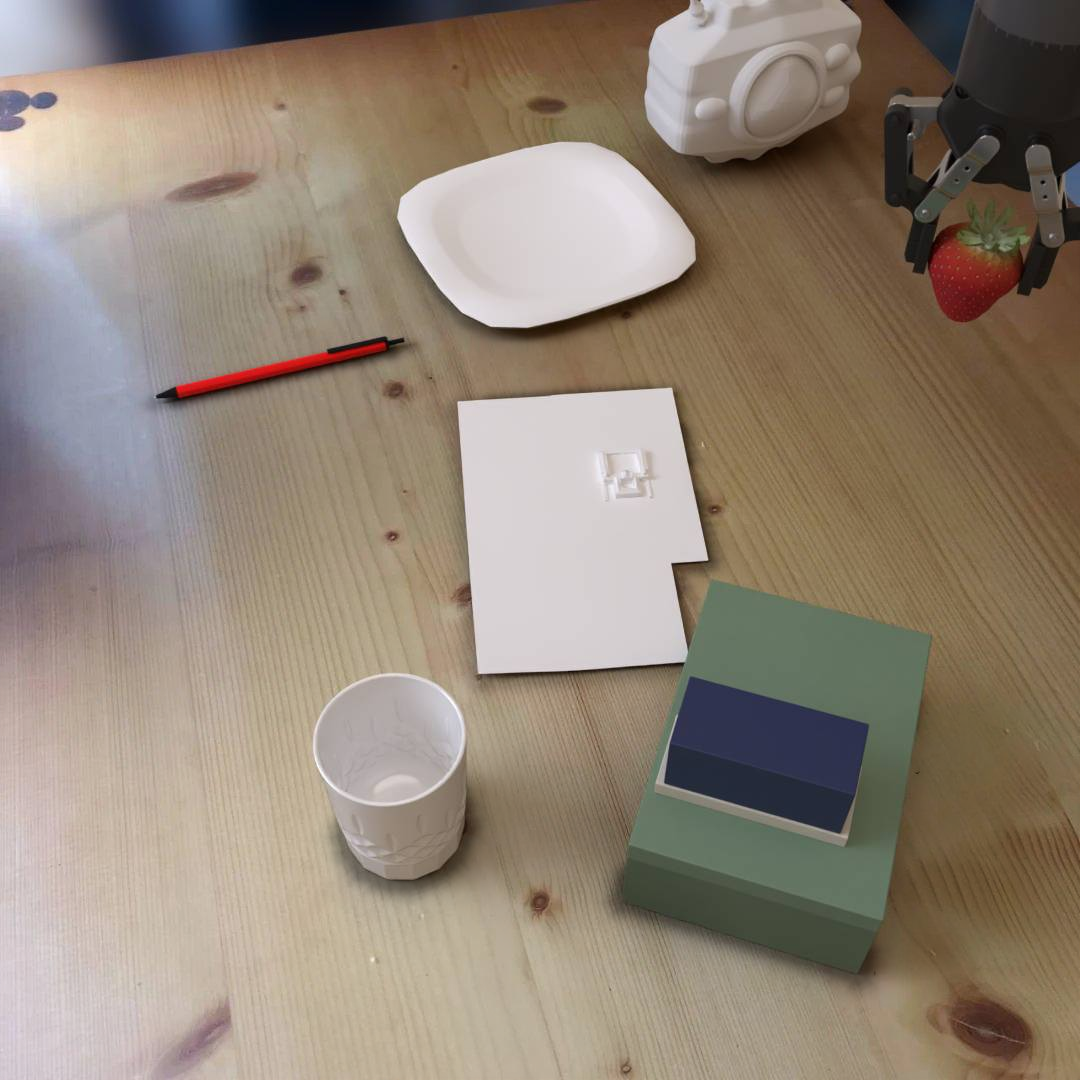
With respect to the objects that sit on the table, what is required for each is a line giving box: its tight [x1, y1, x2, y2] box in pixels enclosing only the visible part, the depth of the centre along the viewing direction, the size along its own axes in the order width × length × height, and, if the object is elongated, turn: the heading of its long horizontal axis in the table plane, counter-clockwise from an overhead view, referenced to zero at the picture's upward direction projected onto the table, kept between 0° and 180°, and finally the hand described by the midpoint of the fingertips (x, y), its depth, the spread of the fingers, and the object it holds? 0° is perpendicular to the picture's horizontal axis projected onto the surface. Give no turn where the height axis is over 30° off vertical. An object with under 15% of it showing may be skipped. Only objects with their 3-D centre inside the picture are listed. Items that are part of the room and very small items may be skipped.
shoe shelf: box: [621, 578, 933, 975], centre depth 73 cm, size 13×18×7 cm
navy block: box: [654, 676, 869, 847], centre depth 67 cm, size 10×4×5 cm, turn 72°
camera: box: [643, 0, 862, 164], centre depth 110 cm, size 11×18×16 cm, turn 114°
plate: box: [396, 141, 697, 330], centre depth 108 cm, size 22×22×2 cm
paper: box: [457, 387, 709, 675], centre depth 88 cm, size 25×17×1 cm
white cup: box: [312, 672, 468, 881], centre depth 71 cm, size 8×8×10 cm
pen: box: [153, 335, 406, 400], centre depth 98 cm, size 1×19×1 cm, turn 109°
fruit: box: [927, 197, 1032, 323], centre depth 76 cm, size 5×5×8 cm
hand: (972, 275), depth 76 cm, fingers closed on fruit, 5 cm apart
